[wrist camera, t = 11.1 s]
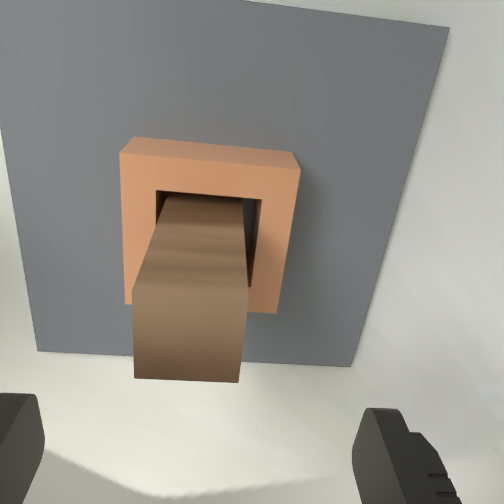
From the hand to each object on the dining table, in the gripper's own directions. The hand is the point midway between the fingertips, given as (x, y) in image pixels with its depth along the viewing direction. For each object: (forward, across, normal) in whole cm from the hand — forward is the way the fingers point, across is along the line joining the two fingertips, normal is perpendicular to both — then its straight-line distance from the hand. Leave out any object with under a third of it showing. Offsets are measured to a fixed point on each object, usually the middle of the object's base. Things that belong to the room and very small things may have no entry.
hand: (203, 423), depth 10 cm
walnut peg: (+13, +1, 0) cm, 13 cm away
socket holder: (+14, 0, 0) cm, 14 cm away
